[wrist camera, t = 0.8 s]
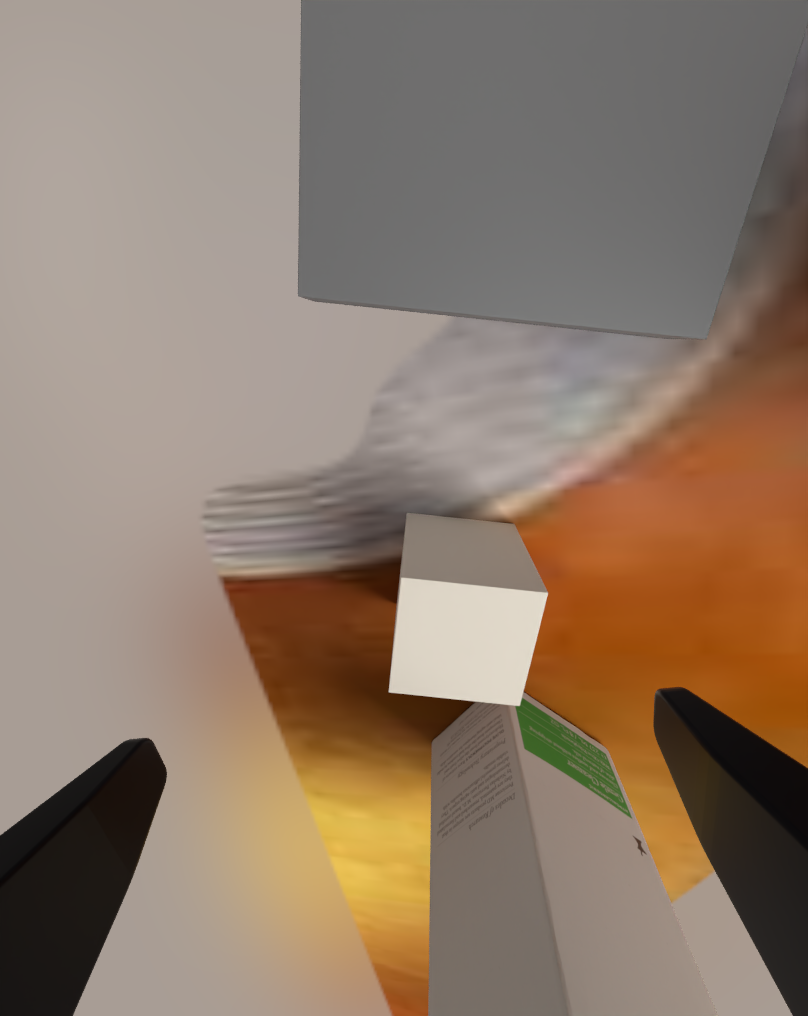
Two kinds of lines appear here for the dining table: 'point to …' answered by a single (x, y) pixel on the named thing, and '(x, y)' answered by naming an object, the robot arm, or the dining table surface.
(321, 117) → the base board
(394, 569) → the dining table surface
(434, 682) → the block
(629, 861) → the skincare box
